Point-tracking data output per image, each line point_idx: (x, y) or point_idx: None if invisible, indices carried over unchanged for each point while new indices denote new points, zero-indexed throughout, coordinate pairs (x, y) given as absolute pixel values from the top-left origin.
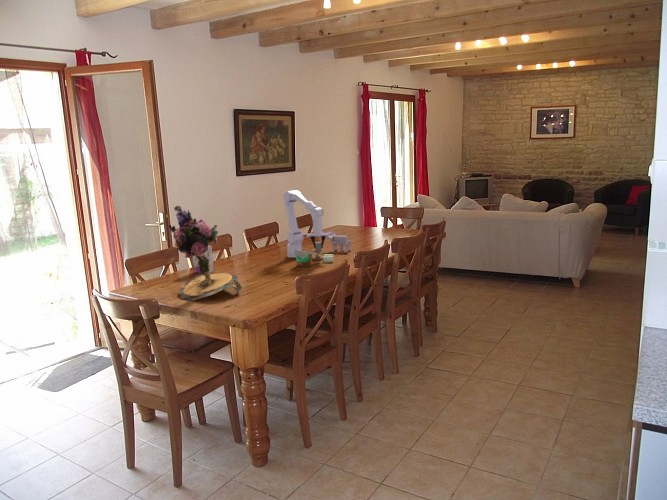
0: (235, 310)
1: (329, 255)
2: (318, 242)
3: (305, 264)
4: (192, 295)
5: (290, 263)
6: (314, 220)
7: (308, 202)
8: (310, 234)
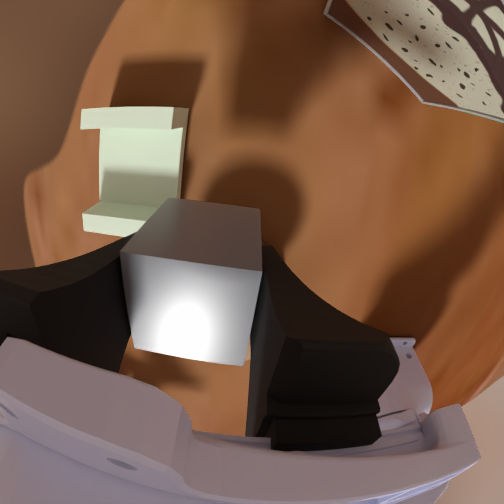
0: None
1: (115, 214)
2: (184, 321)
3: None
4: None
5: (458, 180)
6: None
7: None
8: (421, 481)
